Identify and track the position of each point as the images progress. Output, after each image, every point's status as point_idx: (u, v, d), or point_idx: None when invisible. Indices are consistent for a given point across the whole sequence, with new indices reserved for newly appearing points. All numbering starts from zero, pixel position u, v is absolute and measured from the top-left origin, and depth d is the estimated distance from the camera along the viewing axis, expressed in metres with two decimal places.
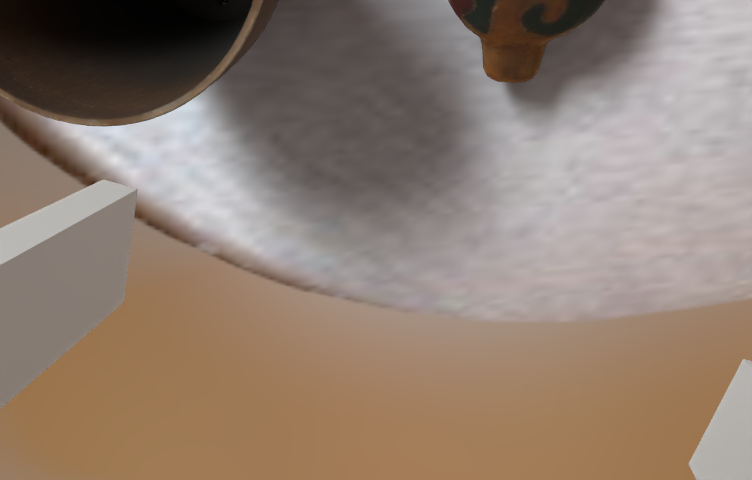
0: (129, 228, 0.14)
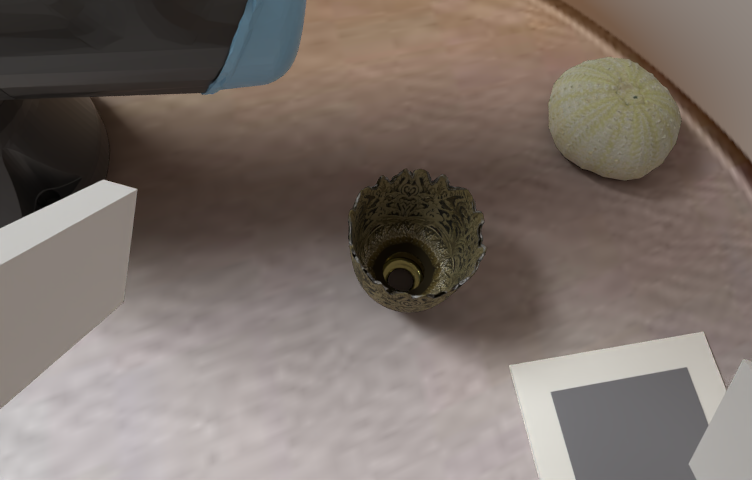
0: (129, 228, 0.14)
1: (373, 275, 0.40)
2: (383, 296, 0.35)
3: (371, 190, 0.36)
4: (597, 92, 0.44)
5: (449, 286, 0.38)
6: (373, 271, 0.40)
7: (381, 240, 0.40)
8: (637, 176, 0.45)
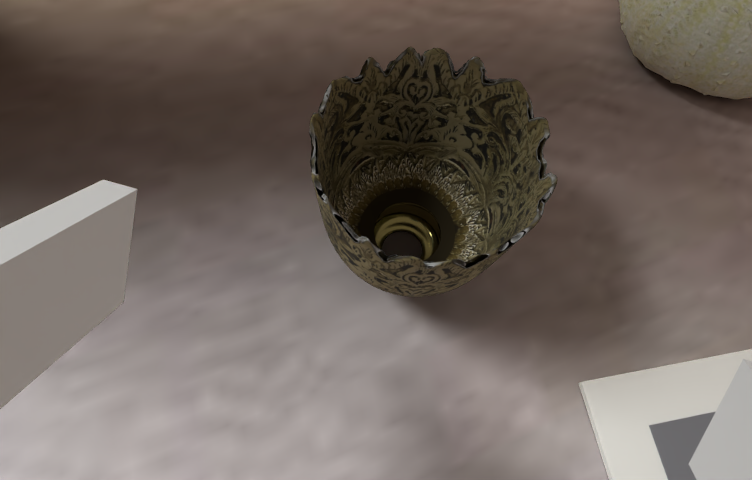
0: (129, 228, 0.14)
1: None
2: (373, 267, 0.20)
3: (351, 84, 0.21)
4: None
5: (484, 253, 0.23)
6: (358, 232, 0.25)
7: (371, 183, 0.25)
8: None
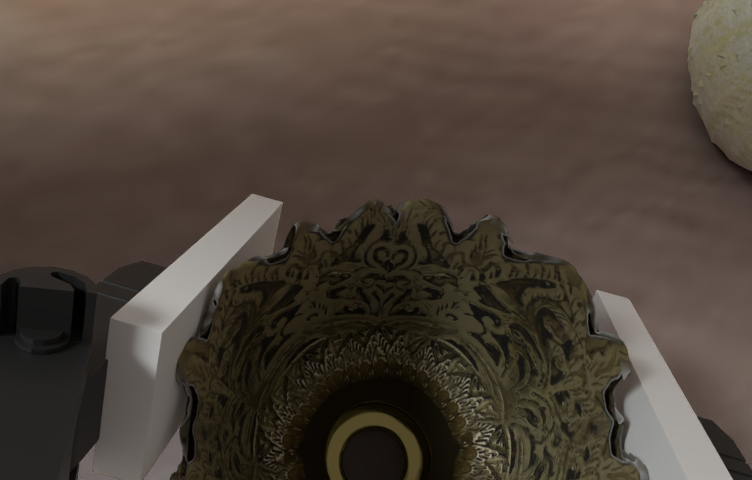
0: (274, 237, 0.15)
1: (299, 472, 0.15)
2: None
3: (266, 268, 0.11)
4: None
5: None
6: (299, 460, 0.15)
7: (322, 374, 0.16)
8: None
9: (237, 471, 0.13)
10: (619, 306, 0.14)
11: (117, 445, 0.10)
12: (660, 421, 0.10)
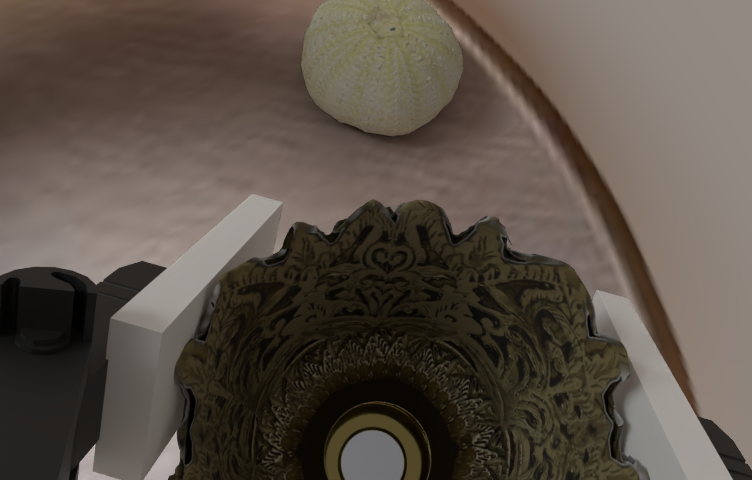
0: (274, 237, 0.15)
1: (297, 474, 0.15)
2: None
3: (264, 269, 0.11)
4: (345, 23, 0.35)
5: None
6: (298, 462, 0.15)
7: (321, 375, 0.16)
8: (403, 130, 0.36)
9: (235, 473, 0.13)
10: (619, 306, 0.14)
11: (117, 445, 0.10)
12: (660, 421, 0.10)
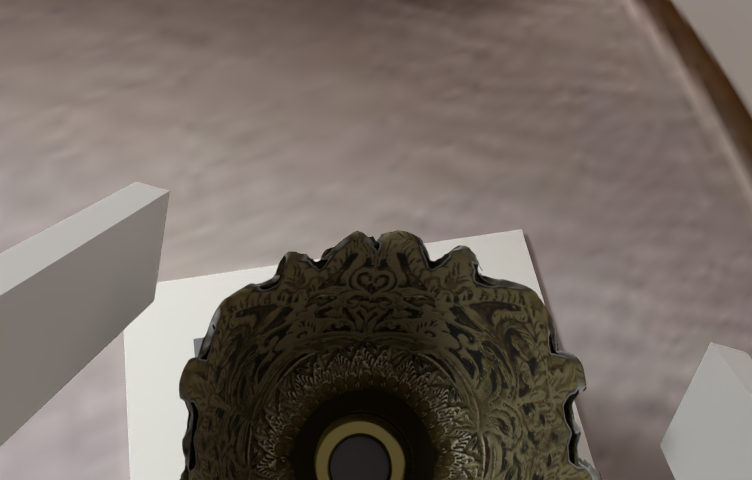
0: (161, 228, 0.14)
1: (290, 478, 0.16)
2: None
3: (259, 294, 0.13)
4: None
5: None
6: (290, 466, 0.16)
7: (311, 386, 0.17)
8: None
9: (233, 477, 0.14)
10: (741, 363, 0.13)
11: None
12: None
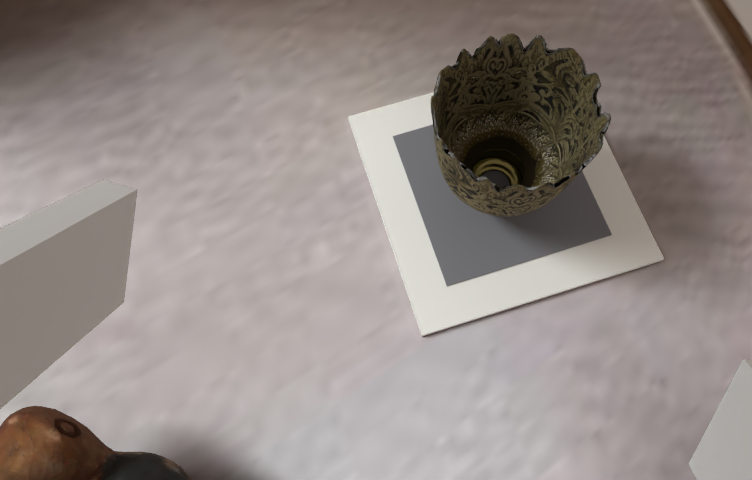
0: (129, 228, 0.14)
1: None
2: (488, 197, 0.28)
3: (452, 70, 0.29)
4: None
5: (560, 177, 0.31)
6: None
7: (466, 138, 0.33)
8: None
9: None
10: None
11: None
12: None
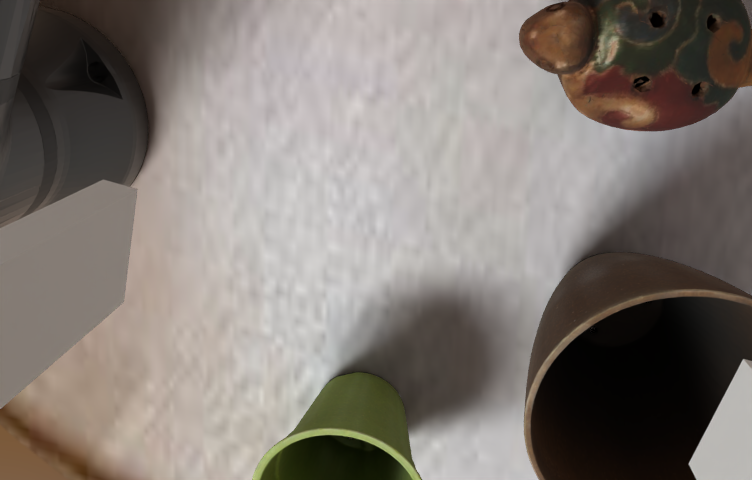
0: (129, 228, 0.14)
1: None
2: None
3: None
4: None
5: None
6: None
7: None
8: None
9: None
10: None
11: None
12: None
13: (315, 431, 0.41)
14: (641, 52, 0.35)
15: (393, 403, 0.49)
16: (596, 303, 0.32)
